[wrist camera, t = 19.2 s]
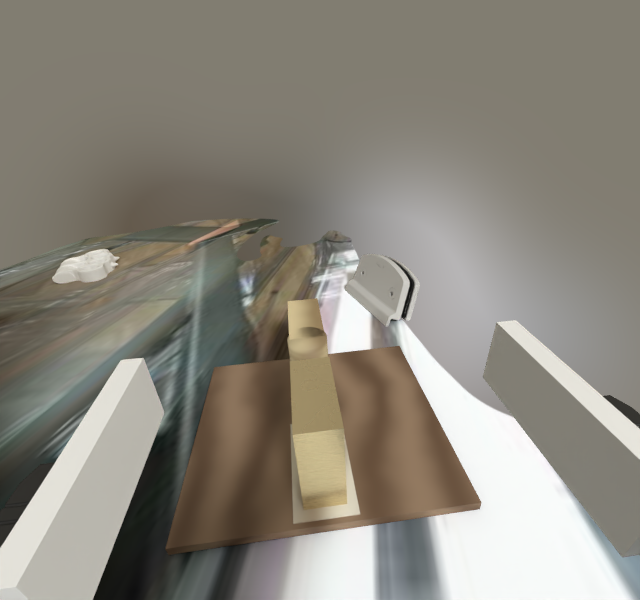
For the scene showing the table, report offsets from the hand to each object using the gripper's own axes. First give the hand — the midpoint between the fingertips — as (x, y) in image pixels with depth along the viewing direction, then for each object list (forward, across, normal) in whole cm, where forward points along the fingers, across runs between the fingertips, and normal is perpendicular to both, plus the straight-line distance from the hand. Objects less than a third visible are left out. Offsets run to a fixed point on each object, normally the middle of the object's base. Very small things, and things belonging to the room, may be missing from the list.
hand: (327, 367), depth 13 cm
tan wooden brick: (+12, 0, -23) cm, 26 cm away
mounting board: (+18, 0, -24) cm, 30 cm away
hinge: (+46, +16, -25) cm, 55 cm away
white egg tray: (+80, -56, -27) cm, 101 cm away
